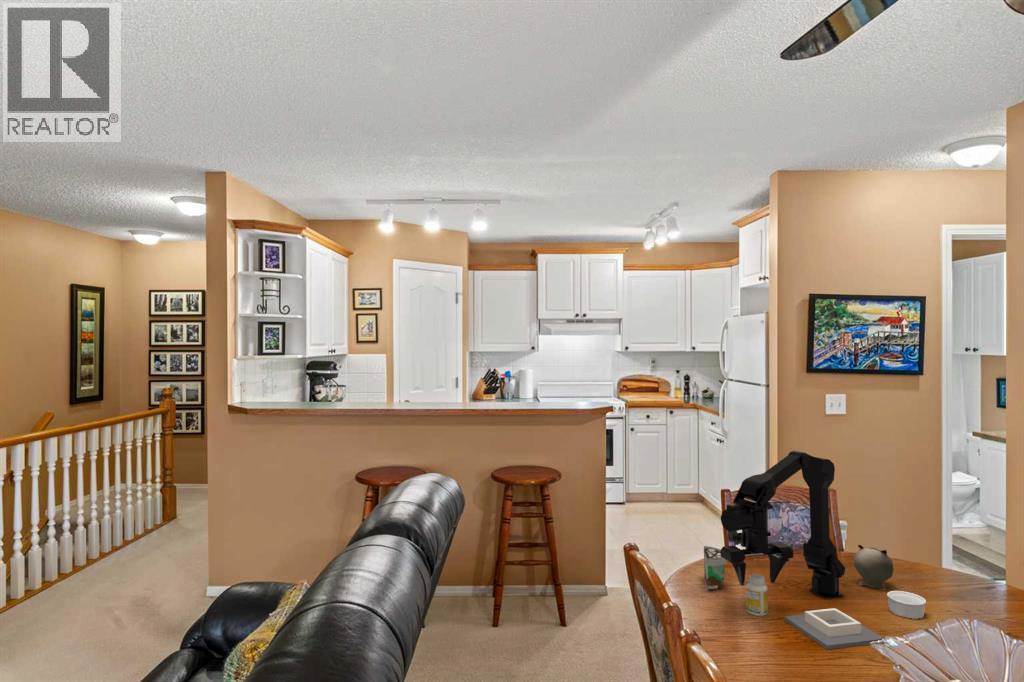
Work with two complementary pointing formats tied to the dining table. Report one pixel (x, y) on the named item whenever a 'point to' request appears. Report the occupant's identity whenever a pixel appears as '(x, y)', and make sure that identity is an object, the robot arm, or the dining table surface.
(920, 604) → the ramekin
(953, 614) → the dining table surface
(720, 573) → the food container
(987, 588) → the dining table surface
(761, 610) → the supplement bottle
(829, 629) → the bottle holder
